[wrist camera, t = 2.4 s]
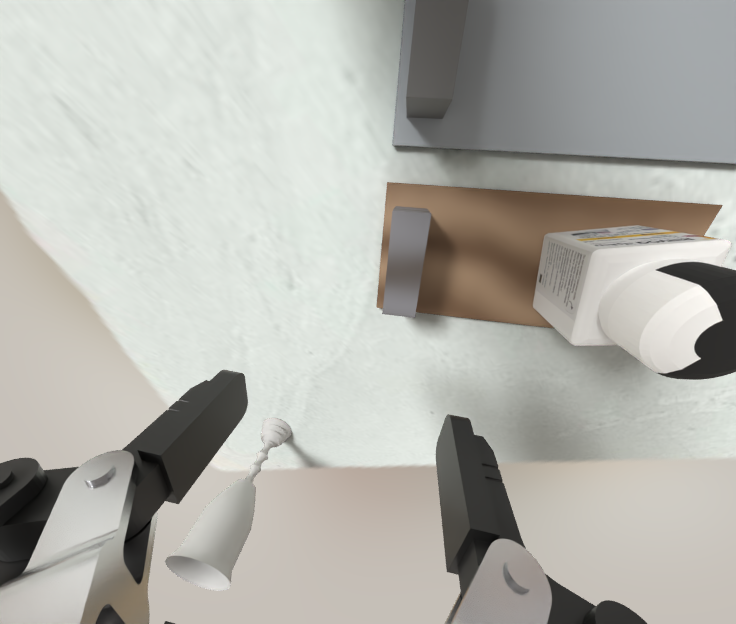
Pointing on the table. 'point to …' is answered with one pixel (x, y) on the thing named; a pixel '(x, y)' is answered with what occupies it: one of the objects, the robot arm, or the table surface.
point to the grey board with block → (570, 77)
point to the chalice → (224, 524)
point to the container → (643, 296)
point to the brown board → (494, 245)
